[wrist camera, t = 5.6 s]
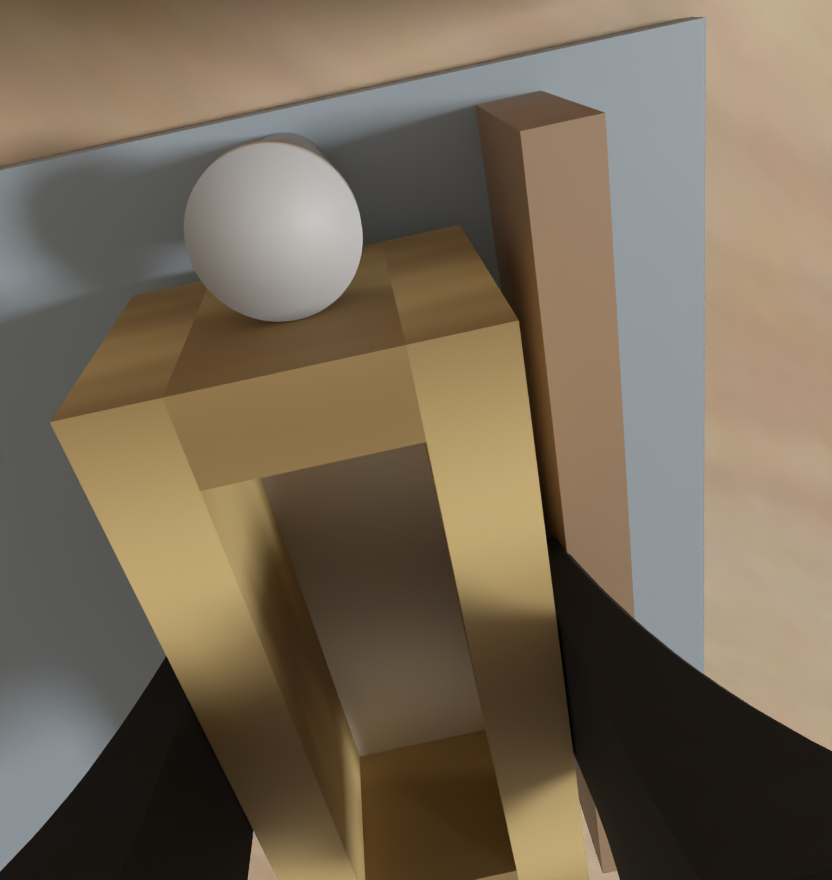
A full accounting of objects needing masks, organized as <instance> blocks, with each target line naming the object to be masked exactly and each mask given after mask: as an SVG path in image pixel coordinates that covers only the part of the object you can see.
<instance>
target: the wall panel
mask: <svg viewBox="0 0 832 880" xmlns="http://www.w3.org/2000/svg"><path fill="white" fill-rule="evenodd" d="M705 94H706V17H690V18H685V19H681V20H676V21H671V22H667V23H662V24H658V25H653V26H648V27H644V28H639V29H635V30H630V31H625V32H621V33H616V34H612V35H607V36H602V37H598V38H593V39H589V40H584V41H579V42H575V43H570V44H565V45H561V46H556V47H552V48H547V49H542V50H538V51H533V52H529V53H524V54H519V55H515V56H510V57H506V58H501V59H496V60H492V61H487V62H483V63H478V64H473V65H469V66H464V67H459V68H455V69H450V70H446V71H441V72H436V73H432V74H427V75H423V76H418V77H413V78H409V79H404V80H400V81H395V82H390V83H386V84H381V85H377V86H372V87H367V88H363V89H358V90H354V91H349V92H344V93H340V94H335V95H330V96H326V97H321V98H317V99H312V100H307V101H303V102H298V103H294V104H289V105H284V106H280V107H275V108H271V109H266V110H261V111H257V112H252V113H248V114H243V115H238V116H234V117H229V118H224V119H220V120H215V121H211V122H206V123H201V124H197V125H192V126H188V127H183V128H178V129H174V130H169V131H165V132H160V133H155V134H151V135H146V136H142V137H137V138H132V139H128V140H123V141H118V142H114V143H109V144H105V145H100V146H95V147H91V148H86V149H82V150H77V151H72V152H68V153H63V154H59V155H54V156H49V157H45V158H40V159H36V160H31V161H26V162H22V163H17V164H12V165H8V166H3V167H0V871H1V870H2V869H3V868H4V867H5V866H6V865H7V864H8V863H9V862H10V861H11V860H12V859H13V857H14V856H15V855H16V854H17V853H18V852H19V851H20V850H21V849H22V848H23V847H24V846H25V845H26V844H27V843H28V842H29V841H30V840H31V839H32V837H33V836H34V835H35V834H36V833H37V832H38V831H39V830H40V828H41V827H42V826H43V825H44V824H45V823H46V822H47V820H48V819H49V818H50V817H51V816H52V815H53V813H54V812H55V811H56V810H57V809H58V807H59V806H60V805H61V804H62V803H63V802H64V800H65V799H66V798H67V797H68V796H69V794H70V793H71V792H72V791H73V789H74V788H75V787H76V786H77V784H78V783H79V782H80V781H81V779H82V778H83V777H84V776H85V774H86V773H87V772H88V770H89V769H90V768H91V766H92V765H93V764H94V762H95V761H96V759H97V758H98V757H99V755H100V754H101V752H102V751H103V750H104V748H105V747H106V746H107V744H108V743H109V741H110V740H111V739H112V737H113V736H114V735H115V733H116V732H117V730H118V729H119V728H120V726H121V725H122V723H123V722H124V720H125V719H126V717H127V716H128V714H129V713H130V711H131V710H132V708H133V707H134V705H135V704H136V702H137V701H138V699H139V698H140V696H141V695H142V693H143V691H144V690H145V688H146V687H147V685H148V684H149V682H150V681H151V679H152V678H153V676H154V674H155V673H156V671H157V670H158V668H159V666H160V665H161V663H162V662H163V660H164V659H165V657H166V654H165V652H164V650H163V648H162V646H161V644H160V642H159V640H158V638H157V636H156V634H155V632H154V630H153V628H152V626H151V624H150V622H149V620H148V618H147V616H146V614H145V612H144V610H143V608H142V606H141V604H140V602H139V600H138V598H137V596H136V594H135V592H134V590H133V588H132V586H131V584H130V582H129V580H128V578H127V576H126V574H125V572H124V570H123V568H122V566H121V564H120V562H119V560H118V558H117V556H116V554H115V552H114V550H113V548H112V546H111V544H110V542H109V540H108V538H107V536H106V534H105V532H104V530H103V528H102V526H101V524H100V522H99V520H98V518H97V516H96V514H95V512H94V510H93V508H92V506H91V504H90V502H89V500H88V498H87V496H86V494H85V492H84V490H83V488H82V486H81V484H80V482H79V480H78V478H77V476H76V474H75V472H74V470H73V468H72V466H71V464H70V462H69V460H68V458H67V456H66V454H65V452H64V450H63V448H62V446H61V444H60V442H59V440H58V438H57V436H56V434H55V432H54V430H53V428H52V426H51V424H50V421H51V420H52V418H53V417H54V415H55V413H56V412H57V410H58V409H59V407H60V406H61V404H62V403H63V401H64V400H65V398H66V397H67V395H68V394H69V392H70V391H71V389H72V388H73V386H74V385H75V383H76V382H77V380H78V379H79V377H80V376H81V374H82V372H83V371H84V369H85V368H86V366H87V365H88V363H89V362H90V360H91V359H92V357H93V356H94V354H95V353H96V351H97V350H98V348H99V347H100V345H101V344H102V342H103V341H104V339H105V338H106V336H107V335H108V333H109V331H110V330H111V328H112V327H113V325H114V324H115V322H116V321H117V319H118V318H119V316H120V315H121V313H122V312H123V310H124V309H125V307H126V306H127V304H128V303H129V301H130V300H131V298H132V297H133V296H134V295H138V294H143V293H148V292H152V291H157V290H162V289H166V288H171V287H175V286H180V285H185V284H189V283H194V282H198V281H202V283H203V284H204V285H205V287H206V288H207V289H208V290H209V291H210V292H211V293H212V294H213V295H214V296H215V297H216V298H217V299H218V300H220V301H221V302H222V303H223V304H225V305H227V306H228V307H230V308H231V309H233V310H235V311H237V312H239V313H241V314H243V315H246V316H249V317H252V318H255V319H259V320H264V321H273V322H285V321H293V320H299V319H302V318H306V317H309V316H311V315H314V314H316V313H318V312H320V311H322V310H323V309H325V308H327V307H328V306H329V305H331V304H332V303H333V302H334V301H336V300H337V299H338V298H339V297H340V296H341V295H342V294H343V292H344V291H345V290H346V288H347V287H348V286H349V284H350V283H351V281H352V279H353V277H354V275H355V273H356V271H357V268H358V265H359V262H360V258H361V254H362V246H364V245H369V244H373V243H378V242H382V241H387V240H392V239H396V238H401V237H405V236H410V235H415V234H419V233H424V232H428V231H433V230H438V229H442V228H447V227H451V226H456V225H460V226H461V228H462V229H463V231H464V232H465V234H466V236H467V237H468V239H469V241H470V242H471V244H472V245H473V247H474V249H475V250H476V252H477V253H478V255H479V257H480V258H481V260H482V262H483V263H484V265H485V266H486V268H487V270H488V271H489V273H490V275H491V276H492V278H493V279H494V281H495V283H496V284H497V286H498V288H499V289H500V291H501V292H502V294H503V296H504V297H505V299H506V301H507V302H508V304H509V305H510V307H511V309H512V310H513V312H514V314H515V315H516V317H517V318H518V320H519V326H520V334H521V342H522V350H523V358H524V366H525V374H526V382H527V390H528V398H529V405H530V413H531V421H532V429H533V437H534V445H535V453H536V461H537V469H538V477H539V485H540V493H541V501H542V509H543V517H544V525H545V533H546V538H549V537H554V538H556V539H557V540H558V541H559V542H560V543H561V545H562V546H563V548H564V549H565V550H566V552H567V553H569V554H570V555H572V557H573V558H574V559H575V560H576V561H577V562H578V563H579V564H580V566H581V567H582V568H583V569H584V570H585V571H586V572H587V573H588V574H589V575H590V576H591V577H592V578H593V579H594V580H595V581H596V583H597V584H598V585H599V586H600V587H601V588H602V589H603V590H604V591H605V592H606V593H607V594H608V595H609V596H611V597H612V598H613V599H614V600H615V601H616V602H617V603H618V604H619V605H620V606H621V607H622V608H623V609H625V610H626V611H627V612H628V613H629V614H630V615H631V616H632V617H633V618H634V619H635V620H636V621H638V622H639V623H640V624H641V625H642V626H643V627H644V628H646V629H647V630H648V631H649V632H650V633H651V634H653V635H654V636H655V637H656V638H658V639H659V640H660V641H661V642H662V643H664V644H665V645H666V646H667V647H668V648H670V649H671V650H672V651H673V652H675V653H676V654H677V655H679V656H680V657H681V658H682V659H684V660H685V661H686V662H688V663H689V664H690V665H692V666H693V667H694V668H696V669H697V670H699V671H700V672H701V673H703V674H704V406H705ZM573 755H574V753H573ZM574 763H575V771H576V779H577V787H578V795H579V801H580V804H581V807H582V810H583V814H584V817H585V820H586V823H587V826H588V829H589V832H590V835H591V838H592V842H593V845H594V848H595V851H596V854H597V857H598V860H599V863H600V866H601V869H602V873H608V872H613V871H617V868H616V865H615V862H614V859H613V855H612V852H611V849H610V846H609V843H608V839H607V836H606V833H605V830H604V828H603V825H602V822H601V820H600V817H599V814H598V811H597V809H596V806H595V804H594V801H593V799H592V796H591V794H590V792H589V789H588V787H587V784H586V782H585V780H584V777H583V775H582V772H581V770H580V767H579V765H578V763H577V760H576V758H575V755H574ZM253 834H255V833H254V831H253Z"/></svg>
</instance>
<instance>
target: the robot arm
mask: <svg viewBox="0 0 832 880" xmlns="http://www.w3.org/2000/svg"><path fill="white" fill-rule="evenodd" d="M546 541H547V549H548V556H549V564H550V572H551V580H552V588H553V596H554V604H555V612H556V620H557V628H558V636H559V644H560V652H561V660H562V668H563V676H564V684H565V692H566V700H567V708H568V715H569V723H570V731H571V739H572V747H573V753H574V755H575V758H576V760H577V763H578V765H579V767H580V770H581V772H582V775H583V777H584V780H585V782H586V784H587V787H588V789H589V792H590V794H591V796H592V799H593V801H594V804H595V806H596V809H597V811H598V814H599V817H600V820H601V822H602V825H603V828H604V830H605V833H606V836H607V839H608V843H609V846H610V849H611V852H612V855H613V859H614V862H615V865H616V868H617V871H618V875H619V878H620V880H832V751H830V750H828V749H826V748H824V747H822V746H820V745H819V744H817V743H815V742H813V741H811V740H809V739H807V738H806V737H804V736H802V735H800V734H799V733H797V732H795V731H793V730H792V729H790V728H788V727H787V726H785V725H783V724H781V723H780V722H778V721H776V720H774V719H773V718H771V717H769V716H767V715H766V714H764V713H762V712H761V711H759V710H757V709H755V708H754V707H752V706H750V705H749V704H747V703H746V702H744V701H743V700H741V699H740V698H738V697H737V696H735V695H734V694H732V693H731V692H729V691H727V690H726V689H724V688H723V687H721V686H720V685H718V684H717V683H716V682H714V681H713V680H711V679H710V678H709V677H707V676H706V675H704V674H703V673H701V672H700V671H699V670H697V669H696V668H694V667H693V666H692V665H690V664H689V663H688V662H686V661H685V660H684V659H682V658H681V657H680V656H679V655H677V654H676V653H675V652H673V651H672V650H671V649H670V648H668V647H667V646H666V645H665V644H664V643H662V642H661V641H660V640H659V639H658V638H656V637H655V636H654V635H653V634H651V633H650V632H649V631H648V630H647V629H646V628H644V627H643V626H642V625H641V624H640V623H639V622H638V621H636V620H635V619H634V618H633V617H632V616H631V615H630V614H629V613H628V612H627V611H626V610H625V609H623V608H622V607H621V606H620V605H619V604H618V603H617V602H616V601H615V600H614V599H613V598H612V597H611V596H609V595H608V594H607V593H606V592H605V591H604V590H603V589H602V588H601V587H600V586H599V585H598V584H597V583H596V581H595V580H594V579H593V578H592V577H591V576H590V575H589V574H588V573H587V572H586V571H585V570H584V569H583V568H582V567H581V566H580V564H579V563H578V562H577V561H576V560H575V559H574V558H573V557H572V555H570V554H569V553H567V552H566V550H565V549H564V548H563V546H562V545H561V543H560V542H559V541H558V540H557V539H556V538H554V537H549V538H546ZM252 838H253V829H252V827H251V824H250V822H249V820H248V818H247V816H246V814H245V812H244V810H243V808H242V806H241V804H240V802H239V800H238V798H237V796H236V794H235V792H234V790H233V788H232V786H231V784H230V782H229V780H228V778H227V776H226V774H225V772H224V770H223V768H222V766H221V764H220V762H219V760H218V758H217V756H216V754H215V752H214V750H213V748H212V746H211V744H210V742H209V740H208V738H207V736H206V734H205V732H204V730H203V728H202V726H201V724H200V722H199V720H198V718H197V716H196V714H195V712H194V710H193V708H192V706H191V704H190V702H189V700H188V698H187V696H186V694H185V692H184V690H183V688H182V686H181V684H180V682H179V680H178V678H177V676H176V674H175V672H174V670H173V668H172V666H171V664H170V662H169V660H168V658H167V656H166V657H165V659H164V660H163V662H162V663H161V665H160V666H159V668H158V670H157V671H156V673H155V674H154V676H153V678H152V679H151V681H150V682H149V684H148V685H147V687H146V688H145V690H144V691H143V693H142V695H141V696H140V698H139V699H138V701H137V702H136V704H135V705H134V707H133V708H132V710H131V711H130V713H129V714H128V716H127V717H126V719H125V720H124V722H123V723H122V725H121V726H120V728H119V729H118V730H117V732H116V733H115V735H114V736H113V737H112V739H111V740H110V741H109V743H108V744H107V746H106V747H105V748H104V750H103V751H102V752H101V754H100V755H99V757H98V758H97V759H96V761H95V762H94V764H93V765H92V766H91V768H90V769H89V770H88V772H87V773H86V774H85V776H84V777H83V778H82V779H81V781H80V782H79V783H78V784H77V786H76V787H75V788H74V789H73V791H72V792H71V793H70V794H69V796H68V797H67V798H66V799H65V800H64V802H63V803H62V804H61V805H60V806H59V807H58V809H57V810H56V811H55V812H54V813H53V815H52V816H51V817H50V818H49V819H48V820H47V822H46V823H45V824H44V825H43V826H42V827H41V828H40V830H39V831H38V832H37V833H36V834H35V835H34V836H33V837H32V839H31V840H30V841H29V842H28V843H27V844H26V845H25V846H24V847H23V848H22V849H21V850H20V851H19V852H18V853H17V854H16V855H15V856H14V857H13V859H12V860H11V861H10V862H9V863H8V864H7V865H6V866H5V867H4V868H3V869H2V870H1V871H0V880H247V879H248V871H249V863H250V855H251V846H252Z"/></svg>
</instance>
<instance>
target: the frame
mask: <svg viewBox="0 0 832 880" xmlns="http://www.w3.org/2000/svg"><path fill="white" fill-rule="evenodd" d="M50 424H51V426H52V428H53V430H54V432H55V434H56V436H57V438H58V440H59V442H60V444H61V446H62V448H63V450H64V452H65V454H66V456H67V458H68V460H69V462H70V464H71V466H72V468H73V470H74V472H75V474H76V476H77V478H78V480H79V482H80V484H81V486H82V488H83V490H84V492H85V494H86V496H87V498H88V500H89V502H90V504H91V506H92V508H93V510H94V512H95V514H96V516H97V518H98V520H99V522H100V524H101V526H102V528H103V530H104V532H105V534H106V536H107V538H108V540H109V542H110V544H111V546H112V548H113V550H114V552H115V554H116V556H117V558H118V560H119V562H120V564H121V566H122V568H123V570H124V572H125V574H126V576H127V578H128V580H129V582H130V584H131V586H132V588H133V590H134V592H135V594H136V596H137V598H138V600H139V602H140V604H141V606H142V608H143V610H144V612H145V614H146V616H147V618H148V620H149V622H150V624H151V626H152V628H153V630H154V632H155V634H156V636H157V638H158V640H159V642H160V644H161V646H162V648H163V650H164V652H165V654H166V656H167V658H168V660H169V662H170V664H171V666H172V668H173V670H174V672H175V674H176V676H177V678H178V680H179V682H180V684H181V686H182V688H183V690H184V692H185V694H186V696H187V698H188V700H189V702H190V704H191V706H192V708H193V710H194V712H195V714H196V716H197V718H198V720H199V722H200V724H201V726H202V728H203V730H204V732H205V734H206V736H207V738H208V740H209V742H210V744H211V746H212V748H213V750H214V752H215V754H216V756H217V758H218V760H219V762H220V764H221V766H222V768H223V770H224V772H225V774H226V776H227V778H228V780H229V782H230V784H231V786H232V788H233V790H234V792H235V794H236V796H237V798H238V800H239V802H240V804H241V806H242V808H243V810H244V812H245V814H246V816H247V818H248V820H249V822H250V824H251V827H252V829H253V831H254V833H255V835H256V837H257V839H258V841H259V843H260V845H261V847H262V849H263V851H264V853H265V855H266V857H267V859H268V861H269V863H270V865H271V867H272V869H273V871H274V873H275V875H276V877H277V879H278V880H589V874H588V867H587V859H586V851H585V843H584V835H583V827H582V819H581V811H580V803H579V795H578V787H577V779H576V771H575V763H574V755H573V747H572V739H571V731H570V723H569V715H568V708H567V700H566V692H565V684H564V676H563V668H562V660H561V652H560V644H559V636H558V628H557V620H556V612H555V604H554V596H553V588H552V580H551V572H550V564H549V556H548V549H547V541H546V533H545V525H544V517H543V509H542V501H541V493H540V485H539V477H538V469H537V461H536V453H535V445H534V437H533V429H532V421H531V413H530V405H529V398H528V390H527V382H526V374H525V366H524V358H523V350H522V342H521V334H520V326H519V320H518V318H517V317H516V315H515V314H514V312H513V310H512V309H511V307H510V305H509V304H508V302H507V301H506V299H505V297H504V296H503V294H502V292H501V291H500V289H499V288H498V286H497V284H496V283H495V281H494V279H493V278H492V276H491V275H490V273H489V271H488V270H487V268H486V266H485V265H484V263H483V262H482V260H481V258H480V257H479V255H478V253H477V252H476V250H475V249H474V247H473V245H472V244H471V242H470V241H469V239H468V237H467V236H466V234H465V232H464V231H463V229H462V228H461V226H460V225H456V226H451V227H447V228H442V229H438V230H433V231H428V232H424V233H419V234H415V235H410V236H405V237H401V238H396V239H392V240H387V241H382V242H378V243H373V244H369V245H364V246H362V254H361V258H360V262H359V265H358V268H357V271H356V273H355V275H354V277H353V279H352V281H351V283H350V284H349V286H348V287H347V288H346V290H345V291H344V292H343V294H342V295H341V296H340V297H339V298H338V299H337V300H336V301H334V302H333V303H332V304H331V305H329V306H328V307H327V308H325V309H323V310H322V311H320V312H318V313H316V314H314V315H311V316H309V317H306V318H302V319H299V320H293V321H285V322H273V321H264V320H259V319H255V318H252V317H249V316H246V315H243V314H241V313H239V312H237V311H235V310H233V309H231V308H230V307H228V306H227V305H225V304H223V303H222V302H221V301H220V300H218V299H217V298H216V297H215V296H214V295H213V294H212V293H211V292H210V291H209V290H208V289H207V288H206V287H205V285H204V284H203V283H202V281H198V282H194V283H189V284H185V285H180V286H175V287H171V288H166V289H162V290H157V291H152V292H148V293H143V294H138V295H134V296H133V297H132V298H131V300H130V301H129V303H128V304H127V306H126V307H125V309H124V310H123V312H122V313H121V315H120V316H119V318H118V319H117V321H116V322H115V324H114V325H113V327H112V328H111V330H110V331H109V333H108V335H107V336H106V338H105V339H104V341H103V342H102V344H101V345H100V347H99V348H98V350H97V351H96V353H95V354H94V356H93V357H92V359H91V360H90V362H89V363H88V365H87V366H86V368H85V369H84V371H83V372H82V374H81V376H80V377H79V379H78V380H77V382H76V383H75V385H74V386H73V388H72V389H71V391H70V392H69V394H68V395H67V397H66V398H65V400H64V401H63V403H62V404H61V406H60V407H59V409H58V410H57V412H56V413H55V415H54V417H53V418H52V420H51V421H50Z"/></svg>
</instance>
